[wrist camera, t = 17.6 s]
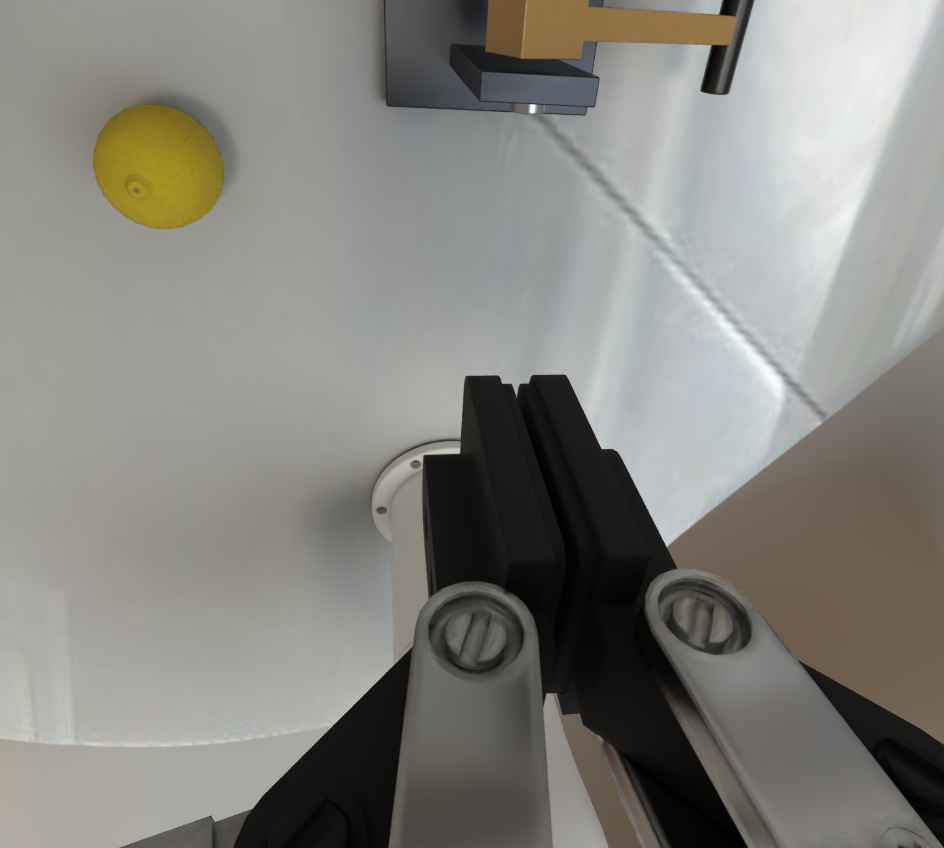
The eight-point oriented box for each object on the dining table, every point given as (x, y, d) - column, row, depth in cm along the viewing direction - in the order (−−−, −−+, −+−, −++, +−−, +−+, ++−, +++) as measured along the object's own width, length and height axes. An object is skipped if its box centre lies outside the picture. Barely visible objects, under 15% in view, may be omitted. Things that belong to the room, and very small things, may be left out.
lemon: (126, 183, 34) (66, 230, 27) (130, 75, 31) (64, 100, 24) (229, 214, 35) (196, 265, 29) (243, 115, 32) (209, 148, 26)
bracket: (611, -95, 29) (737, -137, 19) (580, 112, 34) (665, 167, 24) (381, -117, 28) (382, -176, 17) (386, 102, 33) (388, 157, 23)
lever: (735, -39, 27) (782, -38, 25) (703, 89, 30) (743, 96, 28) (491, -70, 21) (533, -72, 19) (482, 93, 24) (516, 103, 22)
